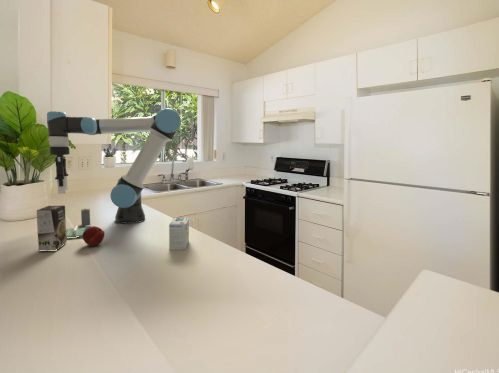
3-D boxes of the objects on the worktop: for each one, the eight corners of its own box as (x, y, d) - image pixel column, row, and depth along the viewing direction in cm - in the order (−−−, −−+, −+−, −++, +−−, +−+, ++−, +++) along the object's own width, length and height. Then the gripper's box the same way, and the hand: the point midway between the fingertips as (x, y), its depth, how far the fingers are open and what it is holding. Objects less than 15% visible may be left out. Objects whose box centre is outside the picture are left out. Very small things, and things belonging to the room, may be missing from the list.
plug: (90, 223, 144) (89, 207, 142) (90, 225, 140) (89, 208, 139) (82, 224, 142) (81, 207, 141) (81, 226, 139) (81, 208, 138)
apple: (99, 248, 110) (98, 229, 109) (78, 248, 109) (77, 228, 108) (107, 242, 117) (106, 224, 116) (88, 242, 116) (87, 223, 115)
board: (97, 229, 135) (96, 222, 134) (96, 236, 124) (96, 229, 124) (57, 232, 127) (56, 226, 127) (53, 240, 117) (52, 233, 116)
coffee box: (57, 251, 105) (55, 210, 103) (38, 252, 104) (35, 210, 102) (67, 243, 114) (65, 205, 112) (50, 244, 113) (47, 205, 110)
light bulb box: (173, 241, 122) (173, 217, 120) (189, 241, 122) (189, 217, 121) (168, 249, 111) (168, 223, 110) (185, 250, 112) (186, 223, 110)
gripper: (52, 146, 138) (56, 188, 141) (45, 146, 116) (50, 196, 119) (70, 146, 141) (74, 187, 144) (67, 146, 120) (71, 194, 123)
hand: (63, 191), depth 132 cm, fingers open, 13 cm apart
